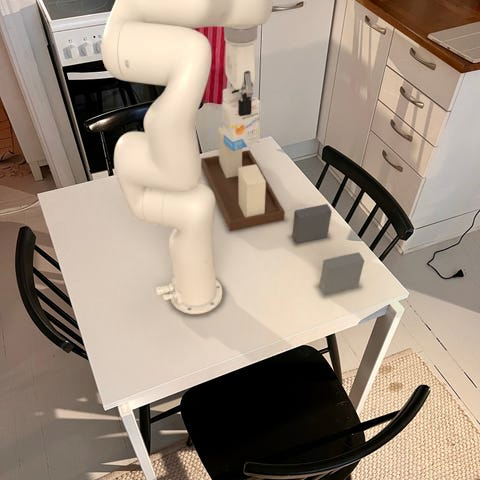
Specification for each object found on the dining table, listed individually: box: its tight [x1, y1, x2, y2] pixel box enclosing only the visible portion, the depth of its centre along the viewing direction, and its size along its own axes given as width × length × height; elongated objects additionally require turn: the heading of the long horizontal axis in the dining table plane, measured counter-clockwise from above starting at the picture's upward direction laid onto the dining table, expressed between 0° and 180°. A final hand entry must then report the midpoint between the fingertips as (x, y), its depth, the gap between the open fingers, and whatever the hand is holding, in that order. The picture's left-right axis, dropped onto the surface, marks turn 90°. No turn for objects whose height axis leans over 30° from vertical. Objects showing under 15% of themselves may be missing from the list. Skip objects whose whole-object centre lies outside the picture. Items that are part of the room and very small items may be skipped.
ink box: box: [221, 84, 261, 151], centre depth 129 cm, size 8×5×15 cm, turn 123°
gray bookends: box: [291, 203, 365, 296], centre depth 126 cm, size 9×22×9 cm, turn 17°
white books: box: [217, 126, 266, 218], centre depth 142 cm, size 5×29×12 cm, turn 17°
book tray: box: [200, 149, 285, 232], centre depth 146 cm, size 16×32×3 cm, turn 17°
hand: (241, 107), depth 127 cm, fingers closed on ink box, 6 cm apart
